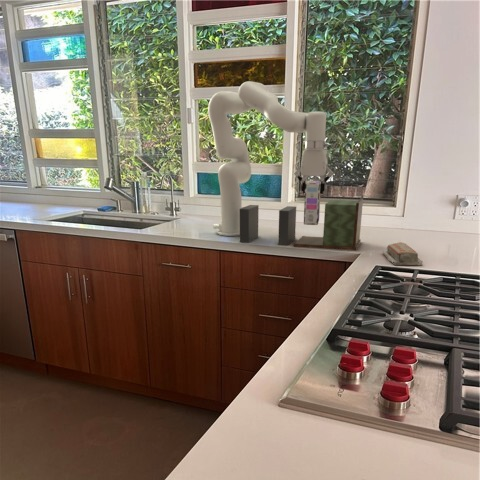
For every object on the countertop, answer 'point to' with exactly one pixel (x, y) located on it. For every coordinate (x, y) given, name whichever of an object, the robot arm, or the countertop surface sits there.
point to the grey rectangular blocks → (251, 224)
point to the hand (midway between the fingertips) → (312, 192)
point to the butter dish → (402, 254)
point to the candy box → (312, 202)
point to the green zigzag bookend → (338, 227)
